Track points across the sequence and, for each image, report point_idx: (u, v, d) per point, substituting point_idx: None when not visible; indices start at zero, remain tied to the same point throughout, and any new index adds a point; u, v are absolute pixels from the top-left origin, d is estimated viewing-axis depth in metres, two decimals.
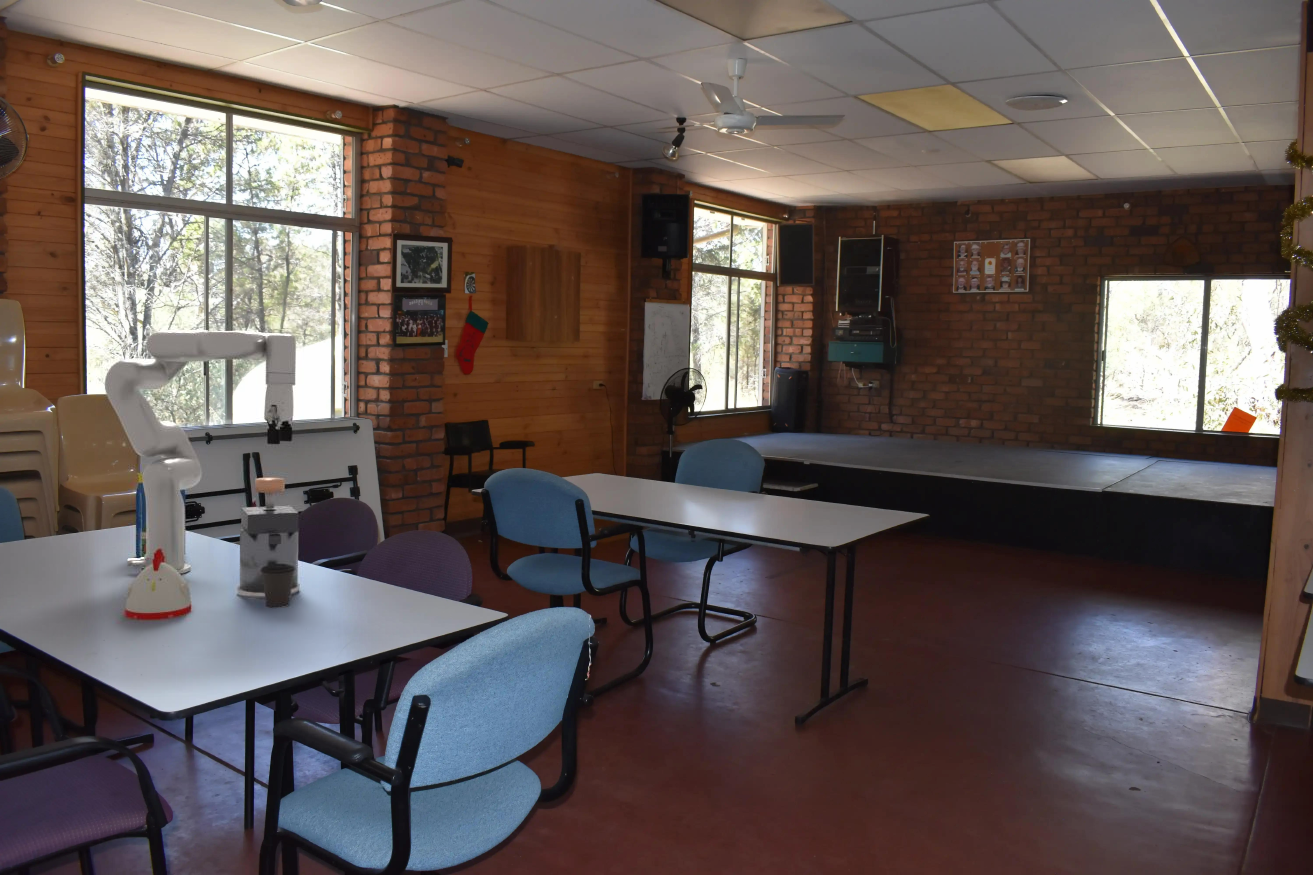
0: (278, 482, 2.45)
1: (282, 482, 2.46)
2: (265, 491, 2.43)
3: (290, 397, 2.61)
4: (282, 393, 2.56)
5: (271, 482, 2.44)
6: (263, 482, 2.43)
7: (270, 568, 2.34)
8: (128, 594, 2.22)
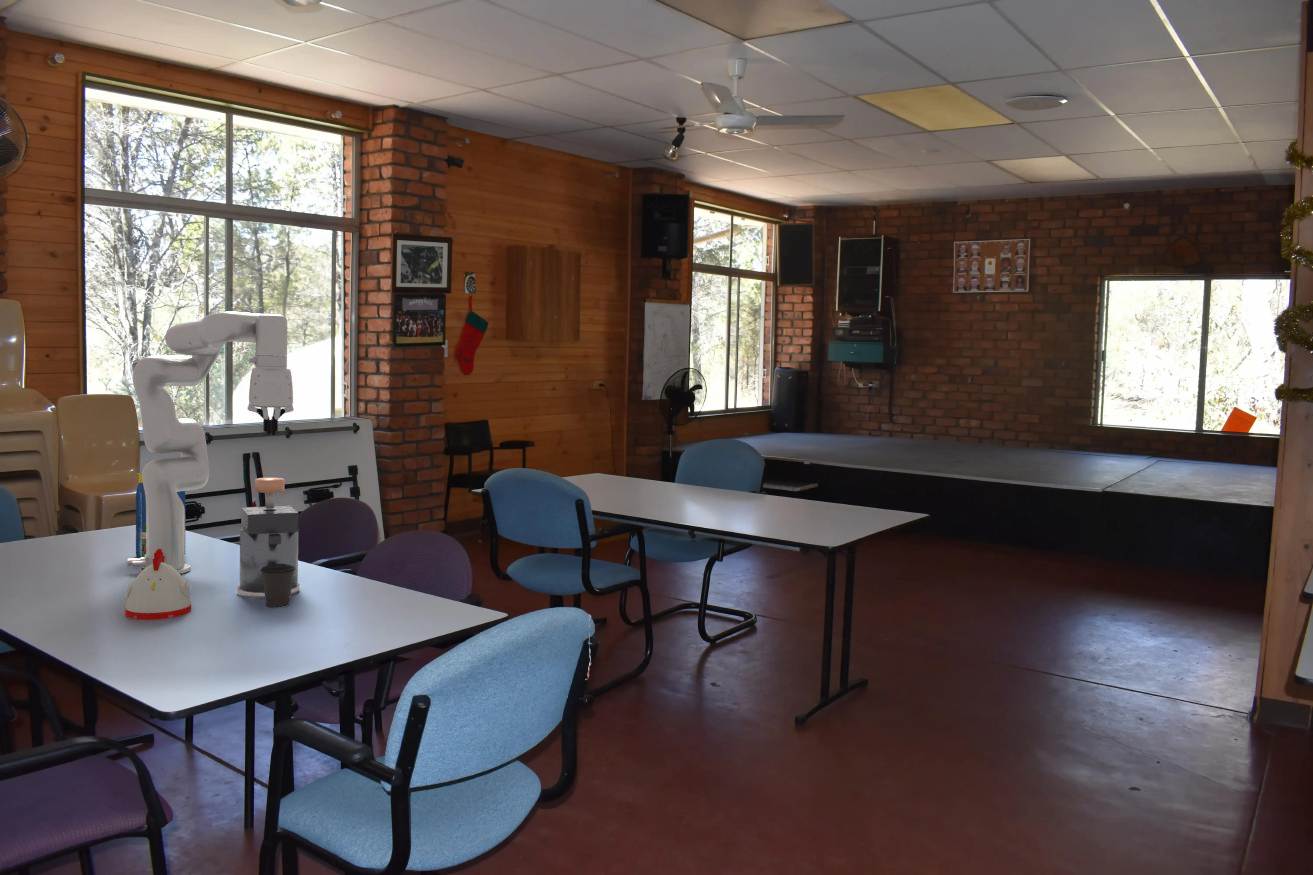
0: (278, 482, 2.45)
1: (282, 482, 2.46)
2: (265, 491, 2.43)
3: None
4: None
5: (271, 482, 2.44)
6: (263, 482, 2.43)
7: (270, 568, 2.34)
8: (128, 594, 2.22)
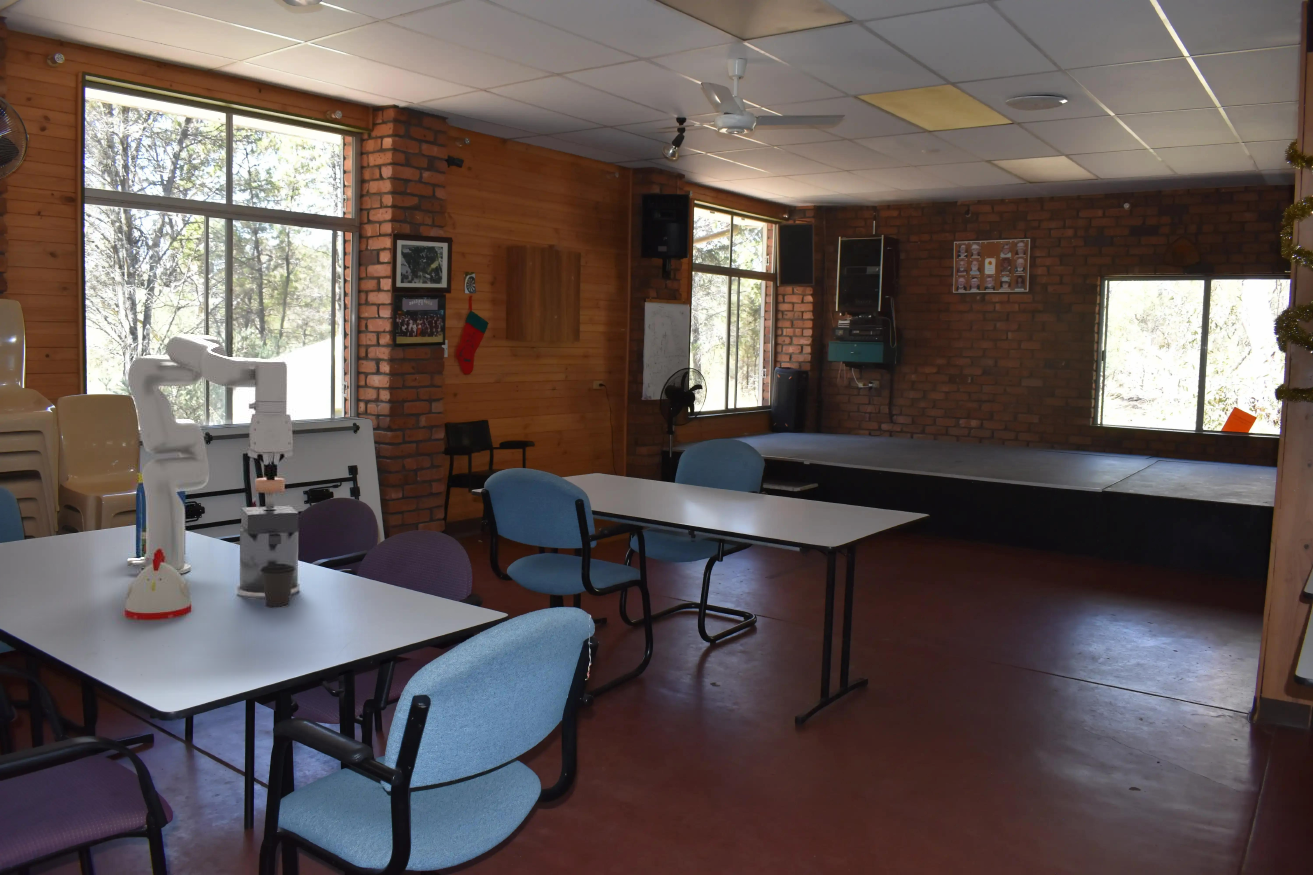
0: (278, 482, 2.45)
1: (282, 482, 2.46)
2: (265, 491, 2.43)
3: None
4: None
5: (271, 482, 2.44)
6: (263, 482, 2.43)
7: (270, 568, 2.34)
8: (128, 594, 2.22)
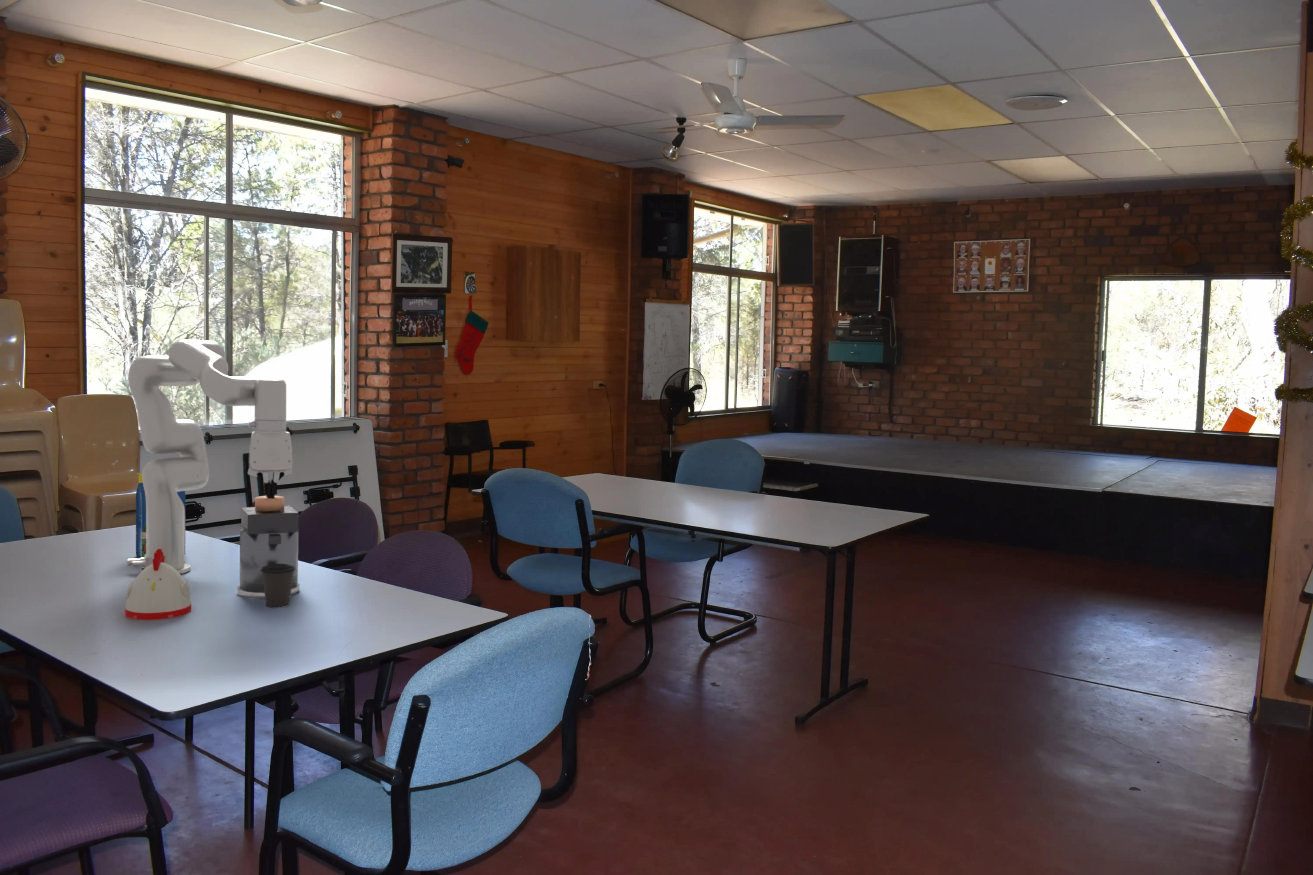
0: (278, 500, 2.45)
1: (282, 500, 2.47)
2: (265, 509, 2.44)
3: None
4: None
5: (271, 500, 2.44)
6: (263, 500, 2.44)
7: (270, 568, 2.34)
8: (128, 594, 2.22)
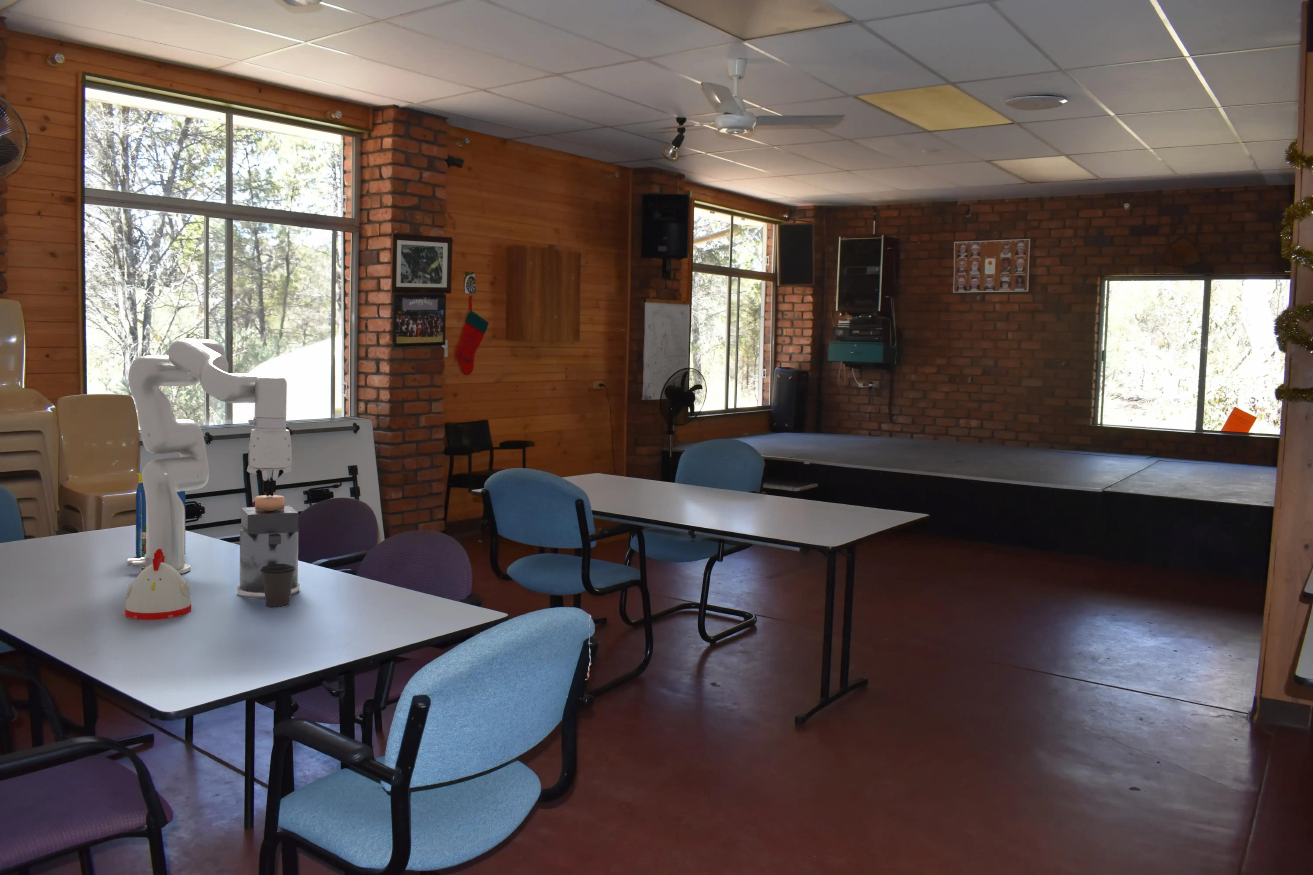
0: (278, 500, 2.45)
1: (282, 500, 2.47)
2: (265, 509, 2.44)
3: None
4: None
5: (271, 500, 2.44)
6: (263, 500, 2.44)
7: (270, 568, 2.34)
8: (128, 594, 2.22)
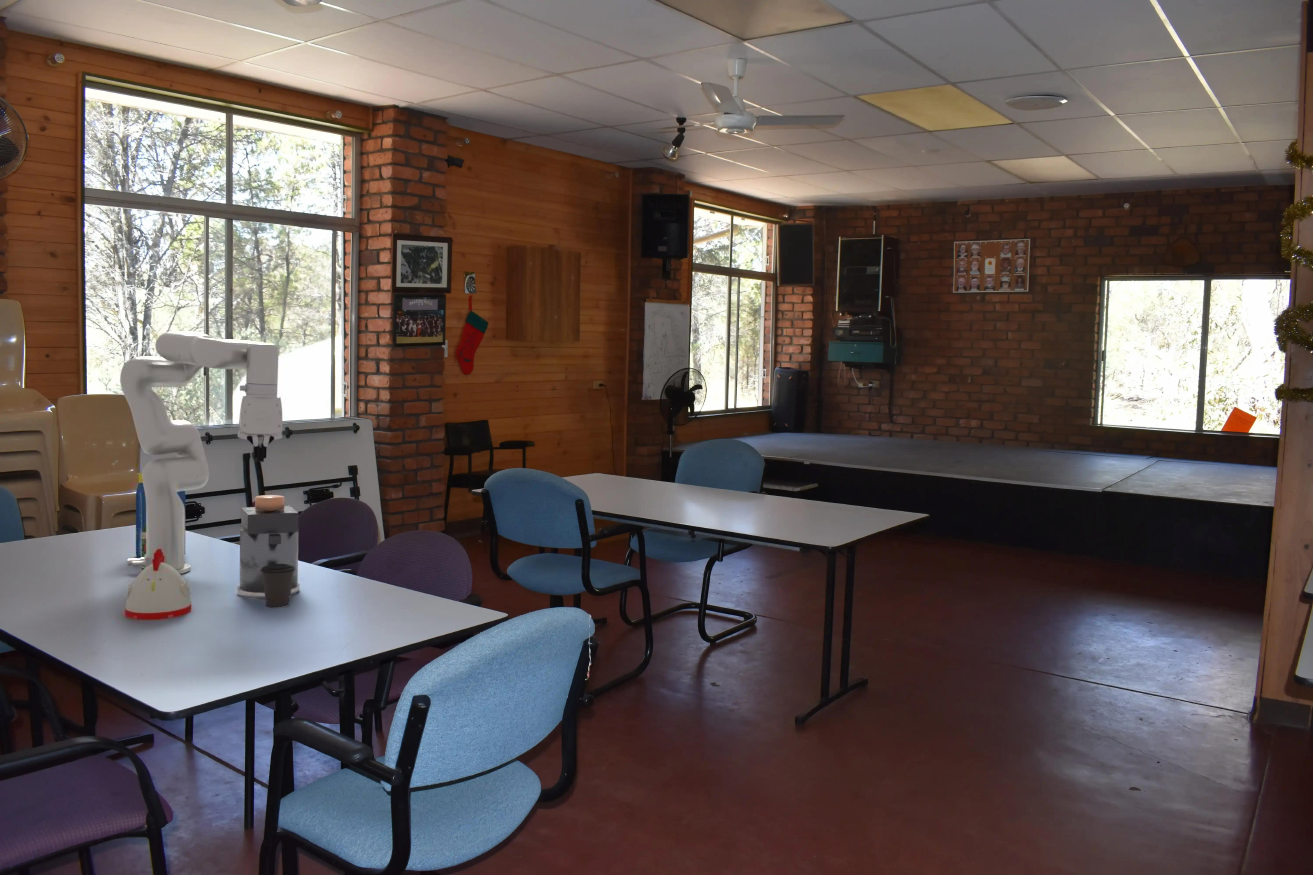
0: (278, 500, 2.45)
1: (282, 500, 2.47)
2: (265, 509, 2.44)
3: None
4: None
5: (271, 500, 2.44)
6: (263, 500, 2.44)
7: (270, 568, 2.34)
8: (128, 594, 2.22)
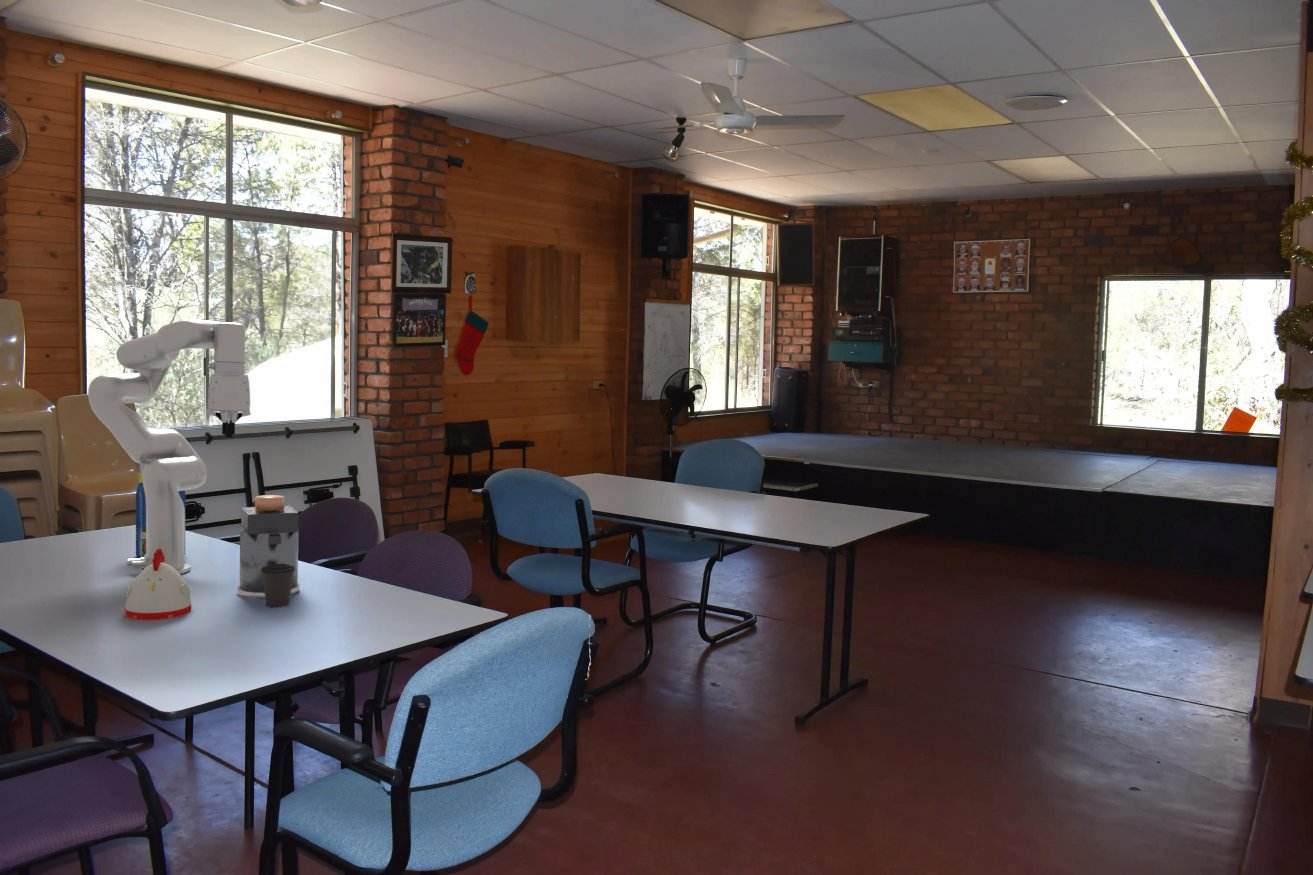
0: (278, 500, 2.45)
1: (282, 500, 2.47)
2: (265, 509, 2.44)
3: None
4: None
5: (271, 500, 2.44)
6: (263, 500, 2.44)
7: (270, 568, 2.34)
8: (128, 594, 2.22)
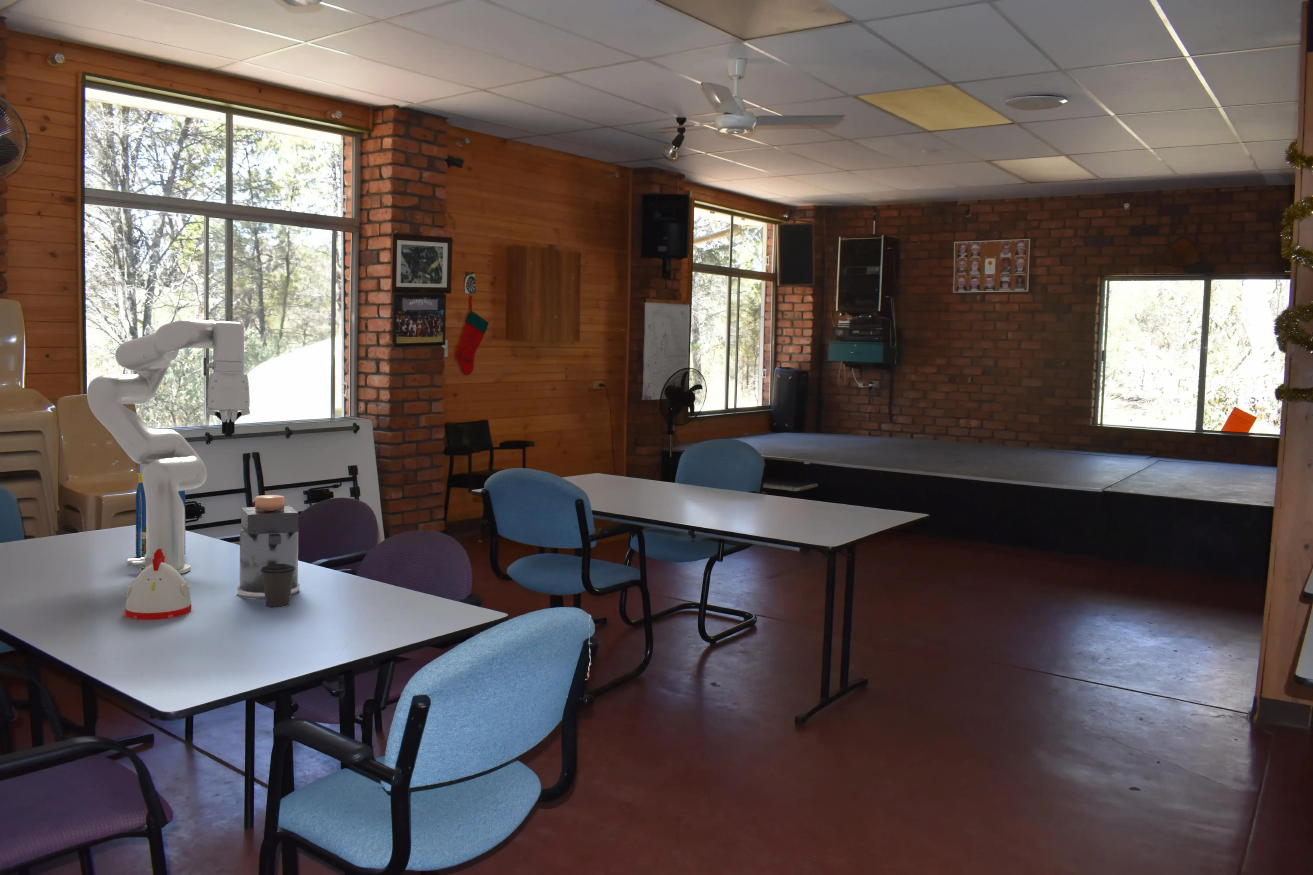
0: (278, 500, 2.45)
1: (282, 500, 2.47)
2: (265, 509, 2.44)
3: None
4: None
5: (271, 500, 2.44)
6: (263, 500, 2.44)
7: (270, 568, 2.34)
8: (128, 594, 2.22)
